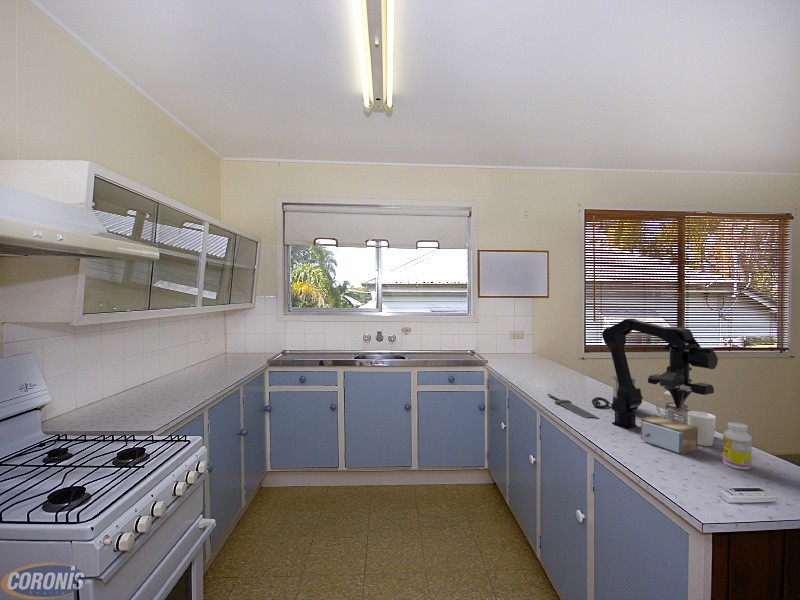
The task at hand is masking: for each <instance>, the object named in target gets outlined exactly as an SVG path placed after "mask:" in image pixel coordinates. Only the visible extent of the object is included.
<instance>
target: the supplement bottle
mask: <svg viewBox="0 0 800 600" xmlns="http://www.w3.org/2000/svg"><path fill="white" fill-rule="evenodd" d="M748 427H749V426H748V425H747V424H745V423H743V422H742V423H741V422H738V421H737V422H736V421H728V422H727V428H728V429H725V430H724V431H723V434H722V436H723V438H722V440H723V441H722V462H723V463H724V464H725V465H726V466H728V467H730V468H732V469H733V468H734V469H738V470H750V469H751V468H752V449H753V448H752V447H753V445H752V444H753V443H752V442H753V436H751V434H749V433H748V430H749V428H748Z"/></svg>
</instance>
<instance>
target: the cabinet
mask: <svg viewBox="0 0 800 600" xmlns="http://www.w3.org/2000/svg"><path fill="white" fill-rule="evenodd" d="M642 422H647V423H651V424H654V425H657V426H661V427H664V428H667V429H671V430H674V431H677V432H683V454H682V455H684V454H688V453H690V452H694V451H697V450H698V445H697V427H694V426H691V425H687V424H684V423H681V422H678V421H673V420H670V419H666V417H665V418H664V416H663V417H662V416H659V415H651V416H646V417H642V418H641V421H640V423H641V425H640V428H641V429H640V434H641V435H640V440H642Z"/></svg>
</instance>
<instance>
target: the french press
mask: <svg viewBox="0 0 800 600" xmlns="http://www.w3.org/2000/svg"><path fill="white" fill-rule="evenodd" d="M663 394H664V396H661V397H659V398H658V399H657V401H656V404H655V408H656V411H657V413H659V414H660V415H661V416H663V418H666V419H670V420H673V421H677V422H680V423H684V424H687V425H688V414H687V413H688V412H690V410H689V409H688V408H689V406H688V405H687V404H685V403H684V404H683V405H682V407H681V408H680V409H679V408H677V407H676V405H675V402H674V401H668V398H667V397H671V398H673V397H672V395H671V393H670V392H669V391H668V390H667V391H664V392H663ZM665 396H667V397H665ZM690 397H691V396H690V395H689V396H688V397H687V398H686V399H688V398H690ZM662 401H665V406H664V408H663V414H662V413H661V411H660V403H662Z"/></svg>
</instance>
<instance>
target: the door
mask: <svg viewBox="0 0 800 600" xmlns="http://www.w3.org/2000/svg"><path fill="white" fill-rule="evenodd" d="M641 440H642V441H643V442H646V443H649V444H652V445H655V446H657V447H661V448H663V449H667V450H669V451H671V452H672V451H673V452H675V453H678V454H681V455H684V454H683V432H677V431H674V430H671V429H667V428H664V427H661V426H657V425H654V424H651V423H647V422H642V439H641Z"/></svg>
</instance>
